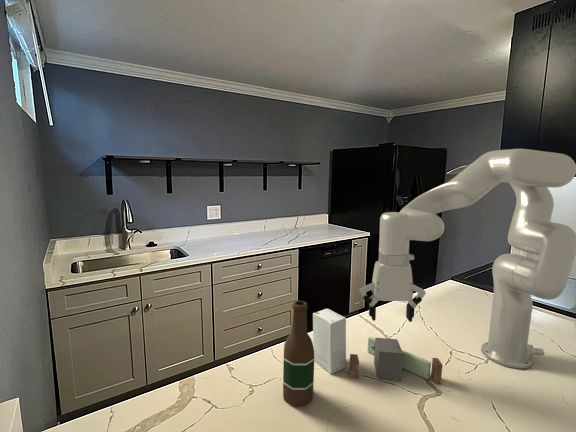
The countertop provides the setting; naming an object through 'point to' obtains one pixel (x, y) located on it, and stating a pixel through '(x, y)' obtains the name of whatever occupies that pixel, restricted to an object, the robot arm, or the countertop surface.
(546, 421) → the countertop surface
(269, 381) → the countertop surface
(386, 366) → the block
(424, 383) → the countertop surface
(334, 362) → the skincare box
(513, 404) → the countertop surface
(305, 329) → the beer bottle
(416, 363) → the door
